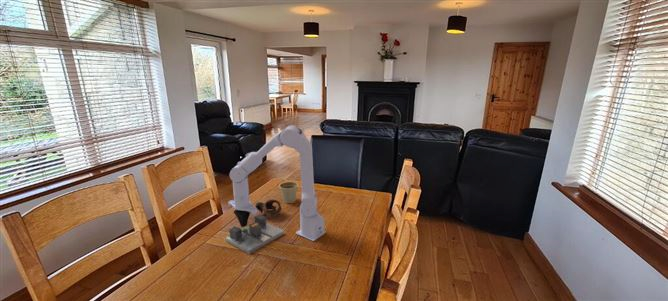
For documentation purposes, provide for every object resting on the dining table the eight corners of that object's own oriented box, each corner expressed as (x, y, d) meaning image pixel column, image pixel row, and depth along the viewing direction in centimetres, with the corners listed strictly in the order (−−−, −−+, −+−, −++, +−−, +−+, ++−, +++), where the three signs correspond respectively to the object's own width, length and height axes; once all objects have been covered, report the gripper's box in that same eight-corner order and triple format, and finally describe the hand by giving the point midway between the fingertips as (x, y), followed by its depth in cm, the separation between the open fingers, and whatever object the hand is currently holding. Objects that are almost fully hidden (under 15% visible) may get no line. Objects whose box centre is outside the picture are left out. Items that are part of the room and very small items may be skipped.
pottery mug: (281, 209, 136) (284, 199, 131) (277, 226, 129) (279, 216, 124) (256, 204, 135) (258, 193, 130) (251, 220, 128) (252, 210, 123)
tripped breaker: (261, 233, 112) (260, 224, 111) (256, 236, 110) (255, 227, 109) (254, 230, 114) (254, 221, 113) (249, 233, 112) (248, 224, 111)
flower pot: (276, 203, 142) (275, 187, 139) (284, 196, 150) (284, 180, 148) (293, 206, 139) (293, 189, 137) (301, 198, 148) (301, 182, 146)
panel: (283, 233, 115) (283, 222, 114) (249, 254, 102) (248, 241, 100) (260, 223, 123) (260, 212, 122) (226, 241, 110) (224, 229, 108)
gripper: (262, 195, 112) (264, 226, 115) (236, 187, 119) (239, 217, 122) (248, 201, 106) (250, 234, 109) (222, 193, 113) (225, 224, 117)
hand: (244, 225), depth 115 cm, fingers closed
